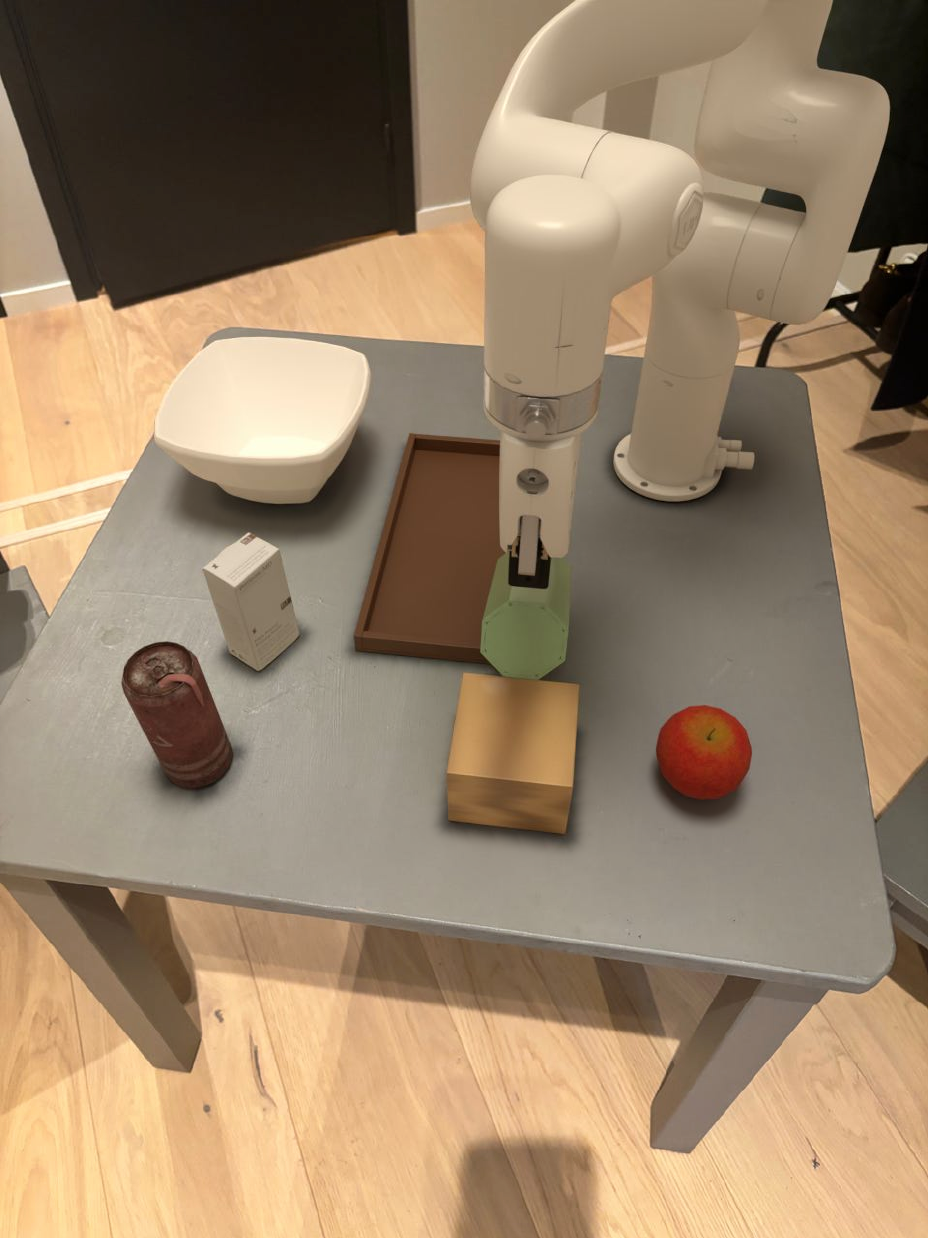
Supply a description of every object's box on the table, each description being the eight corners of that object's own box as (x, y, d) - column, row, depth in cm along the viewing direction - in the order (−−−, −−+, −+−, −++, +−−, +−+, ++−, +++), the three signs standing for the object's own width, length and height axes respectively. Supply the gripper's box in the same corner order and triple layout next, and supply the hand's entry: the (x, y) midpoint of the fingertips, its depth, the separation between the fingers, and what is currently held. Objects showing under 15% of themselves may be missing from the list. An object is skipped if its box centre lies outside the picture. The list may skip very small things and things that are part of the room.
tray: (554, 459, 108) (556, 444, 106) (532, 668, 87) (533, 654, 86) (410, 448, 109) (409, 432, 107) (355, 650, 89) (353, 636, 87)
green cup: (562, 682, 76) (566, 613, 89) (571, 606, 73) (573, 545, 86) (478, 674, 77) (494, 606, 89) (483, 597, 74) (499, 539, 86)
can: (221, 796, 79) (181, 705, 68) (154, 784, 79) (104, 692, 69) (246, 738, 82) (212, 643, 72) (181, 727, 83) (138, 632, 73)
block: (571, 735, 82) (579, 683, 76) (565, 834, 76) (573, 787, 70) (464, 723, 83) (463, 672, 77) (448, 820, 77) (446, 772, 71)
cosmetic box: (260, 674, 87) (234, 590, 78) (227, 653, 89) (198, 568, 80) (302, 633, 90) (283, 549, 81) (270, 614, 92) (247, 529, 83)
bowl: (394, 426, 112) (387, 345, 103) (348, 552, 98) (336, 469, 89) (225, 409, 114) (204, 328, 106) (157, 529, 100) (126, 446, 92)
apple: (702, 727, 83) (720, 676, 77) (757, 794, 78) (781, 746, 72) (632, 760, 81) (645, 711, 75) (685, 831, 76) (703, 785, 70)
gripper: (595, 467, 53) (570, 658, 67) (604, 326, 62) (580, 520, 76) (468, 457, 53) (470, 648, 67) (496, 319, 63) (492, 512, 77)
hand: (528, 580), depth 72 cm, fingers closed
